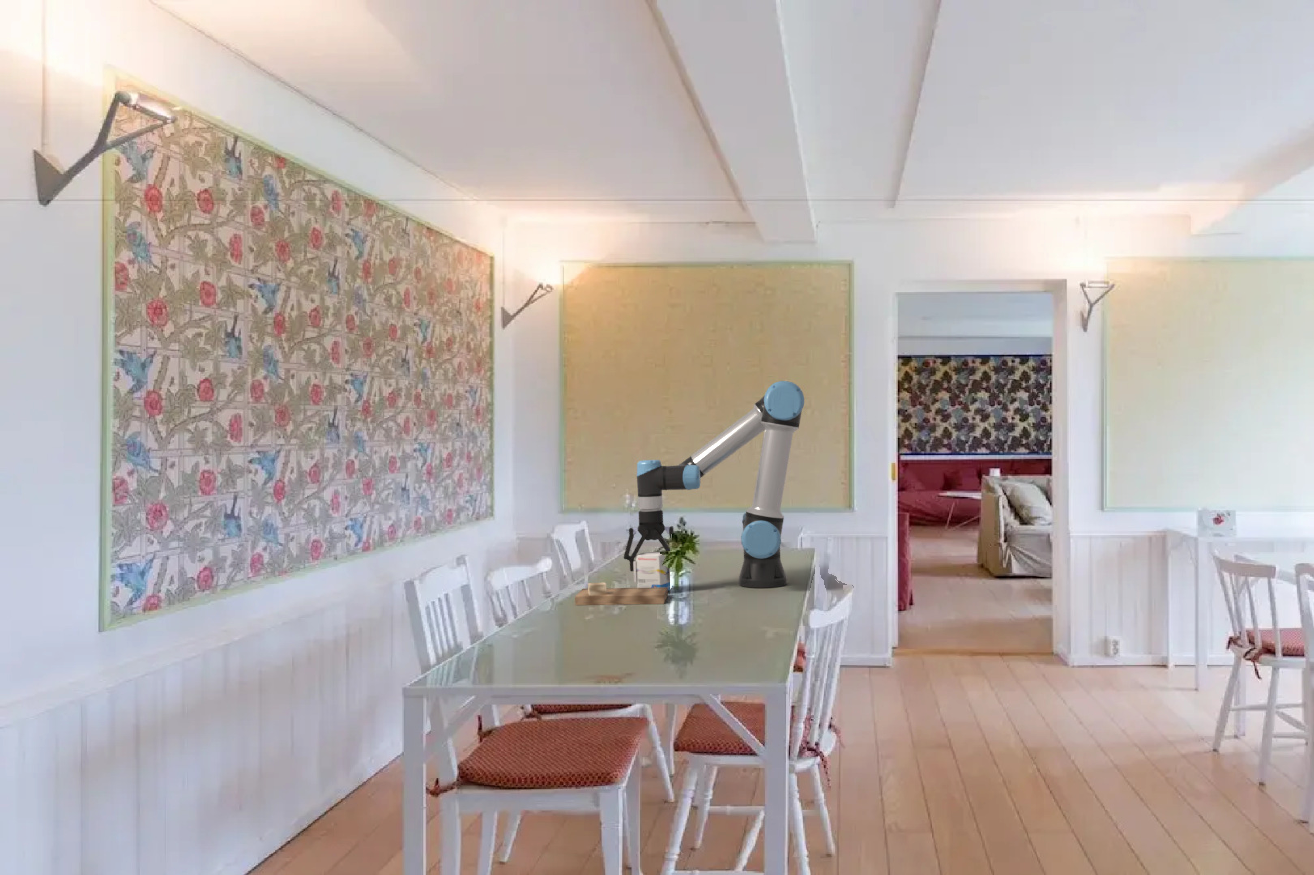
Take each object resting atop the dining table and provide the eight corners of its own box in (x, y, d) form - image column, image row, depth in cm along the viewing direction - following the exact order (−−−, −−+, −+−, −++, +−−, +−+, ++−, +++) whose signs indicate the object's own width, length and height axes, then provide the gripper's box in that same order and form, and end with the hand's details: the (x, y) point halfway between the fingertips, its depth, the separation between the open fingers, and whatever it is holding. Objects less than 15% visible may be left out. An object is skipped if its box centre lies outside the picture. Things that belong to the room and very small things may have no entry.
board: (667, 595, 309) (667, 586, 308) (663, 603, 295) (663, 594, 295) (583, 596, 311) (582, 588, 311) (575, 605, 297) (575, 596, 297)
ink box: (674, 588, 317) (672, 551, 317) (660, 593, 309) (659, 555, 309) (650, 587, 321) (648, 550, 321) (636, 592, 314) (634, 554, 313)
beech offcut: (605, 592, 303) (604, 582, 303) (606, 594, 299) (606, 584, 299) (588, 593, 302) (588, 583, 302) (589, 595, 298) (589, 585, 298)
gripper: (688, 507, 316) (691, 578, 317) (615, 510, 319) (618, 580, 319) (686, 509, 309) (689, 582, 309) (612, 512, 311) (615, 584, 311)
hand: (653, 581), depth 314 cm, fingers closed on ink box, 10 cm apart
